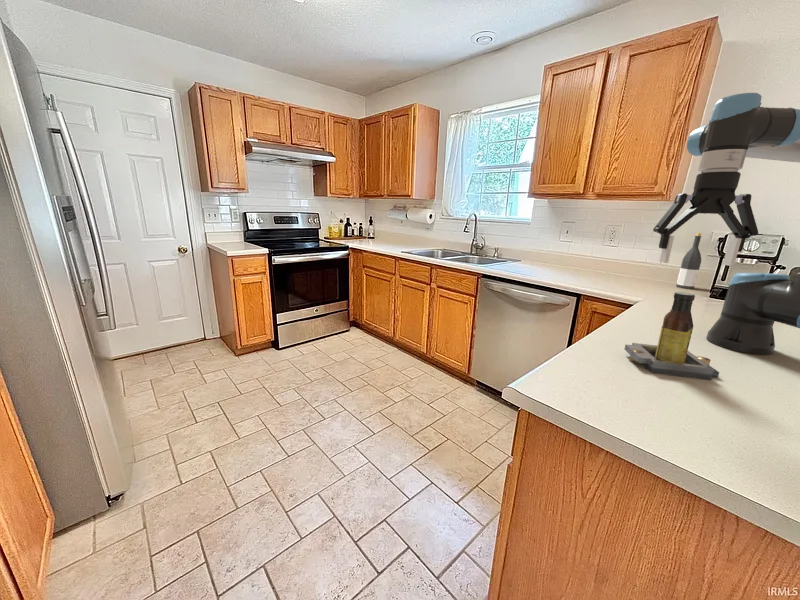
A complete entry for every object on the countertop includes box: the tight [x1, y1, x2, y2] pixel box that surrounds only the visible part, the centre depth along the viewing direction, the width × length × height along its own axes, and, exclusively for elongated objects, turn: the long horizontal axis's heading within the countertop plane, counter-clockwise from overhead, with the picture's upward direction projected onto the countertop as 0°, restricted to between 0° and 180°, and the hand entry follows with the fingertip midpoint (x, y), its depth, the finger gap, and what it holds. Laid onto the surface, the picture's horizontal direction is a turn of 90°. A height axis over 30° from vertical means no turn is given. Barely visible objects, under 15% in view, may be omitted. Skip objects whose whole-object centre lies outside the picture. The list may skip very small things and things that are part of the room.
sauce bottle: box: [654, 291, 696, 363], centre depth 87 cm, size 7×6×20 cm
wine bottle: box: [675, 232, 702, 290], centre depth 184 cm, size 8×8×30 cm
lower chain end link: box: [640, 351, 720, 381], centre depth 89 cm, size 16×13×3 cm
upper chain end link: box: [624, 342, 715, 375], centre depth 90 cm, size 16×13×3 cm
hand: (695, 263), depth 83 cm, fingers open, 13 cm apart
